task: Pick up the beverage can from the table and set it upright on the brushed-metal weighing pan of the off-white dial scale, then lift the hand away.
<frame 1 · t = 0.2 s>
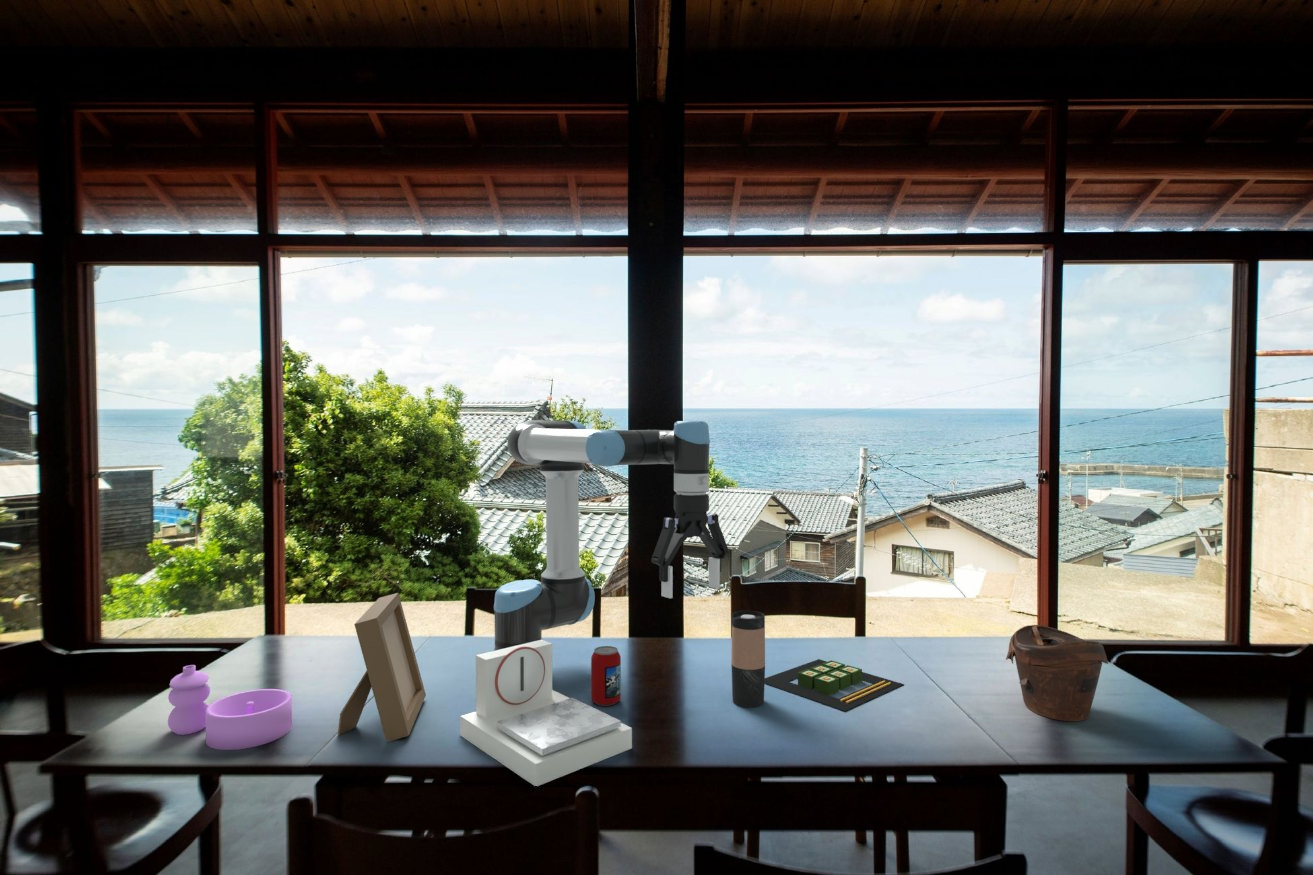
hand: (691, 592, 151), 27 cm above the table, tool pointing down, fingers open, 13 cm apart
travel mug: (748, 702, 161), on the table
weighing pan: (558, 724, 137), point 5 cm above the table, slide at 1.0 cm
beverage can: (606, 702, 161), on the table
container set: (228, 733, 145), on the table
scale: (544, 741, 141), on the table
sushi: (830, 686, 173), on the table
case: (1054, 710, 157), on the table
photo frame: (381, 721, 151), on the table
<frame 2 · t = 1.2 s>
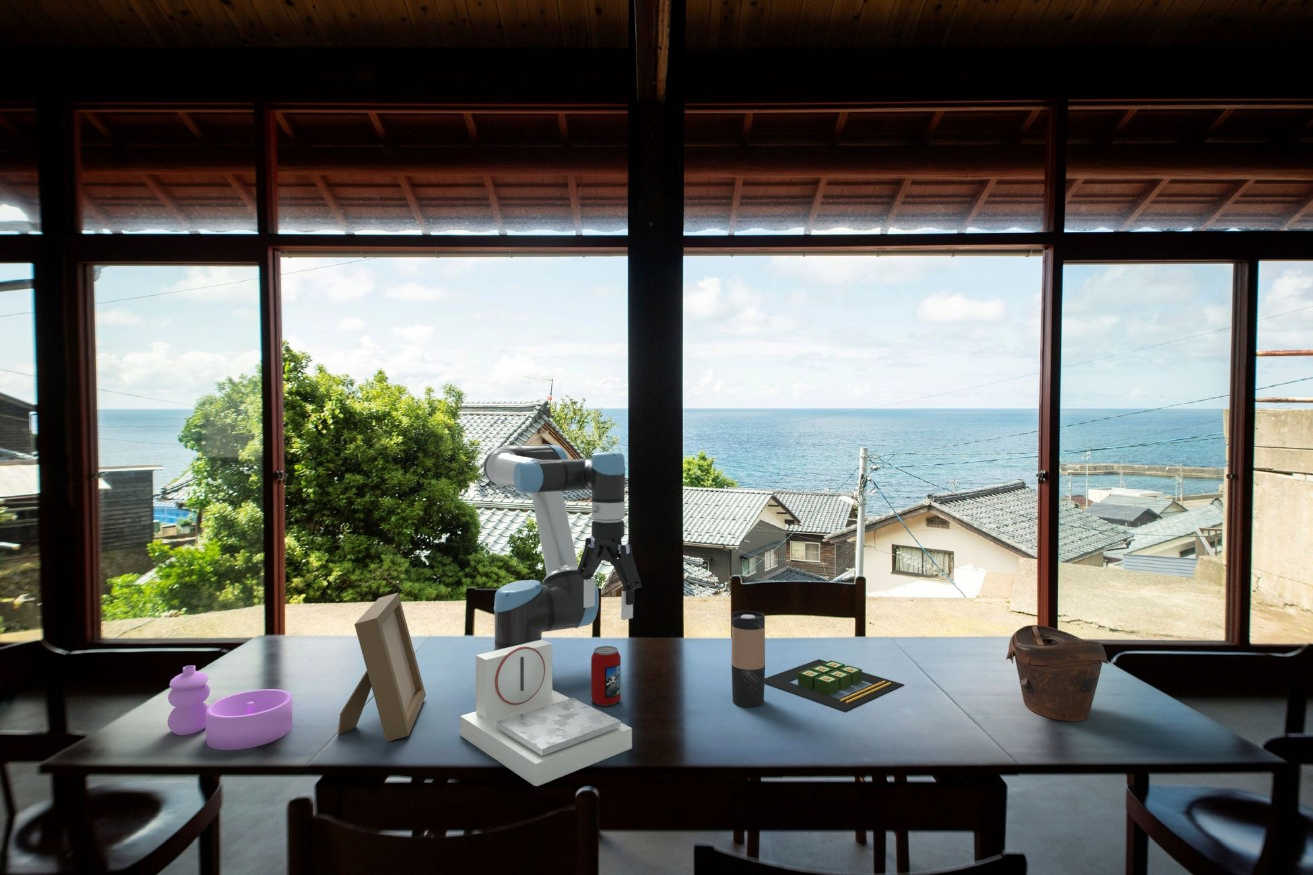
hand: (607, 612, 161), 20 cm above the table, tool pointing down, fingers open, 13 cm apart
nothing on the table moved.
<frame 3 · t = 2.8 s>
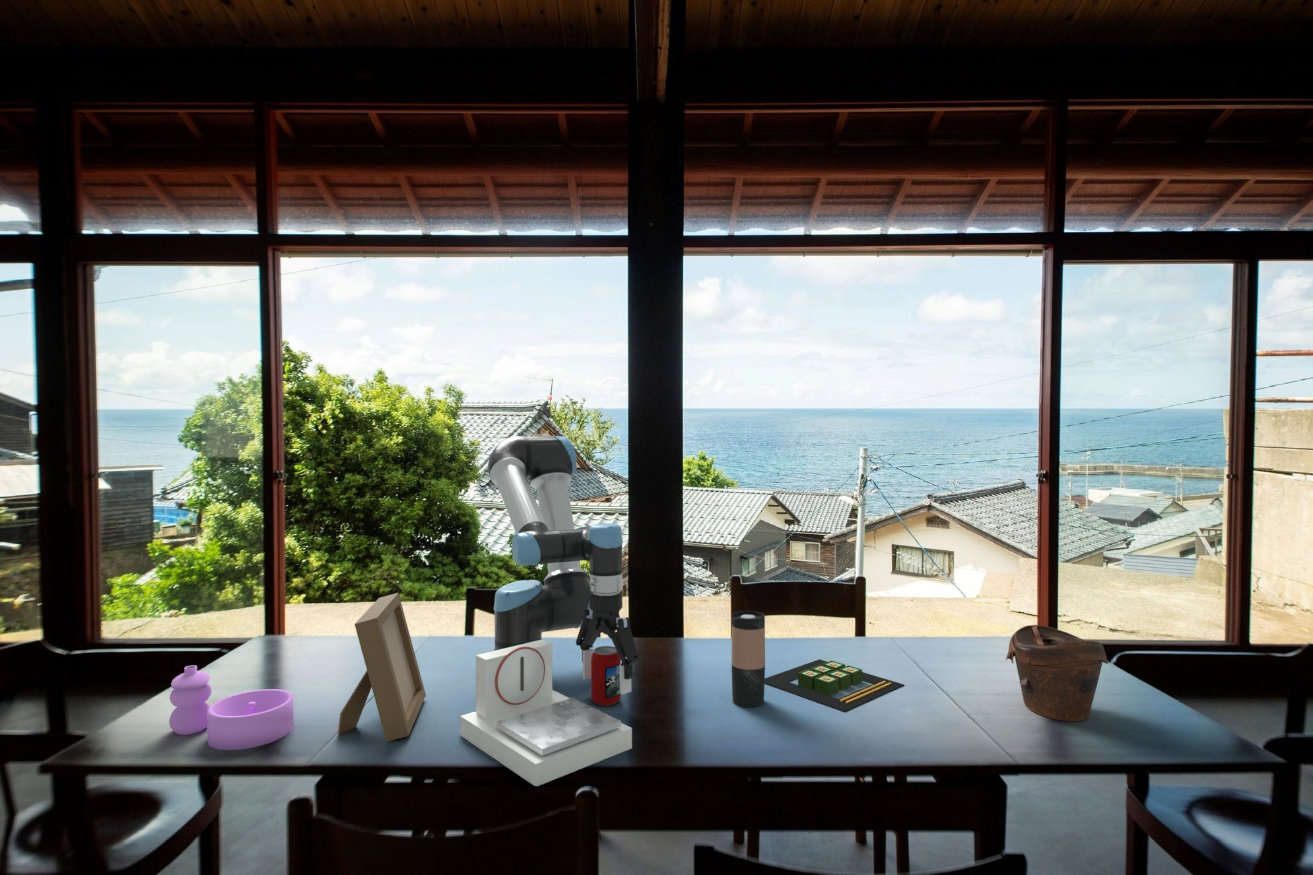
hand: (606, 685, 161), 4 cm above the table, tool pointing down, fingers open, 13 cm apart
nothing on the table moved.
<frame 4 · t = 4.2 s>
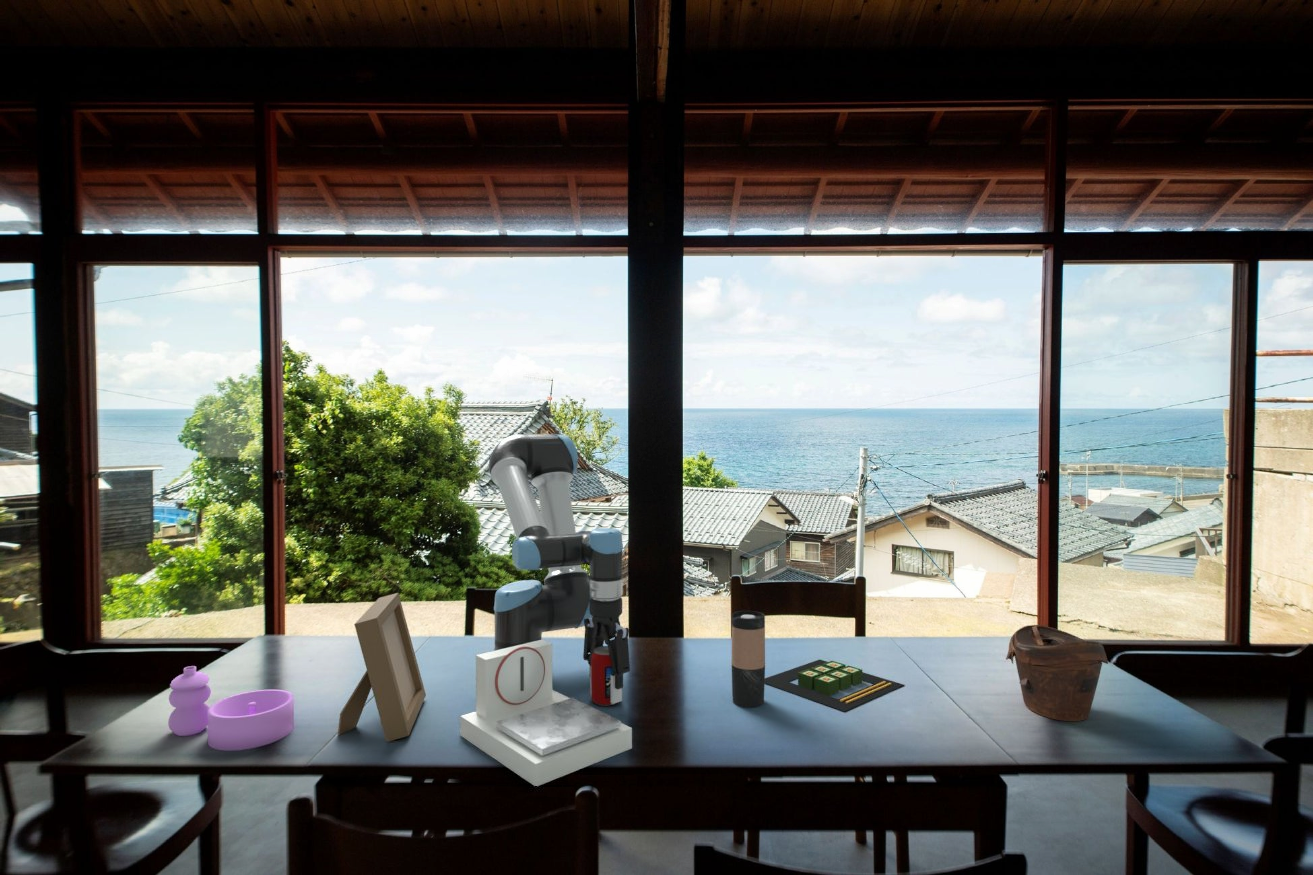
hand: (606, 697, 161), 1 cm above the table, tool pointing down, fingers closed on beverage can, 7 cm apart
beverage can: (606, 702, 161), on the table, touching gripper
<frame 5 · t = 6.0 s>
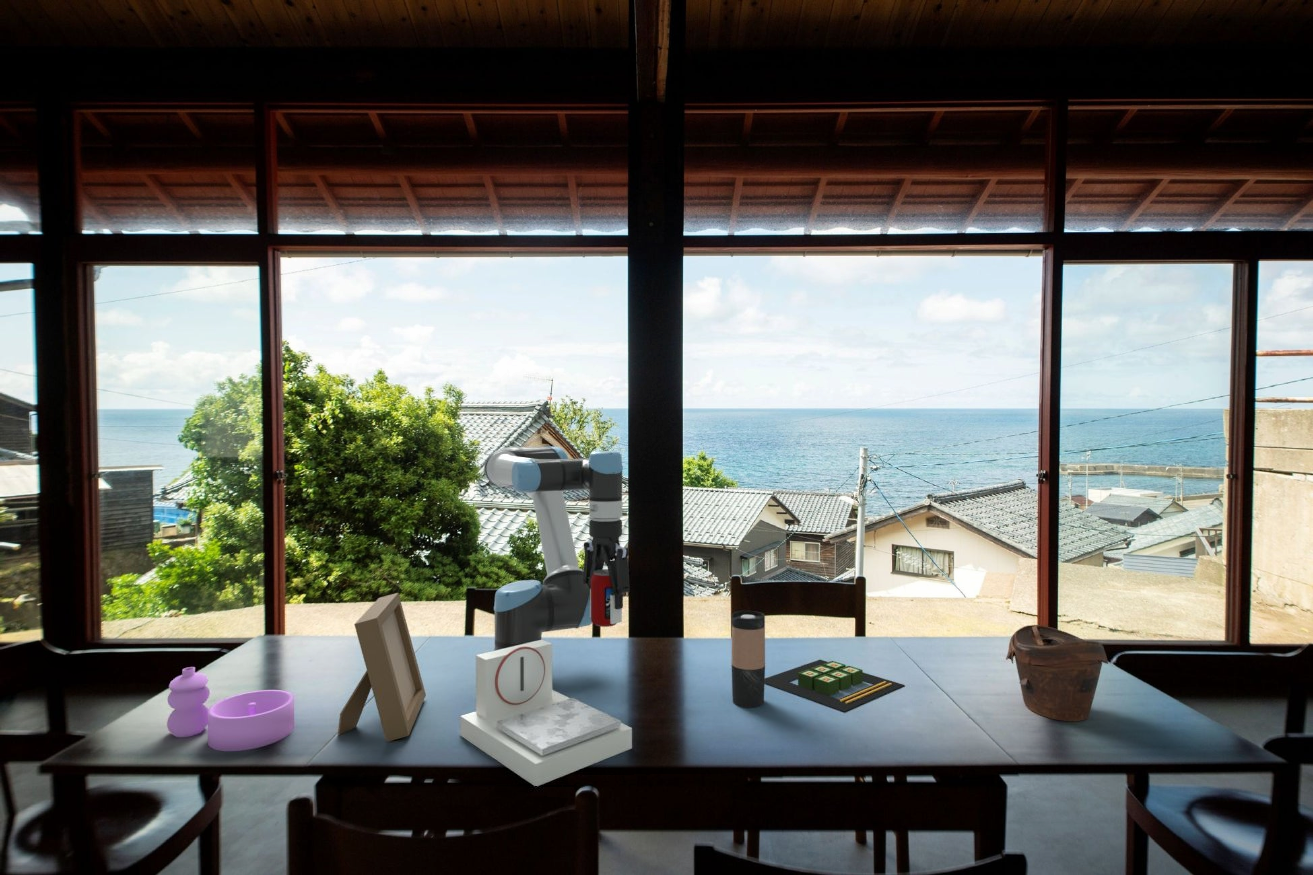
hand: (605, 619, 161), 19 cm above the table, tool pointing down, fingers closed on beverage can, 7 cm apart
beverage can: (605, 624, 161), point 18 cm above the table, touching gripper
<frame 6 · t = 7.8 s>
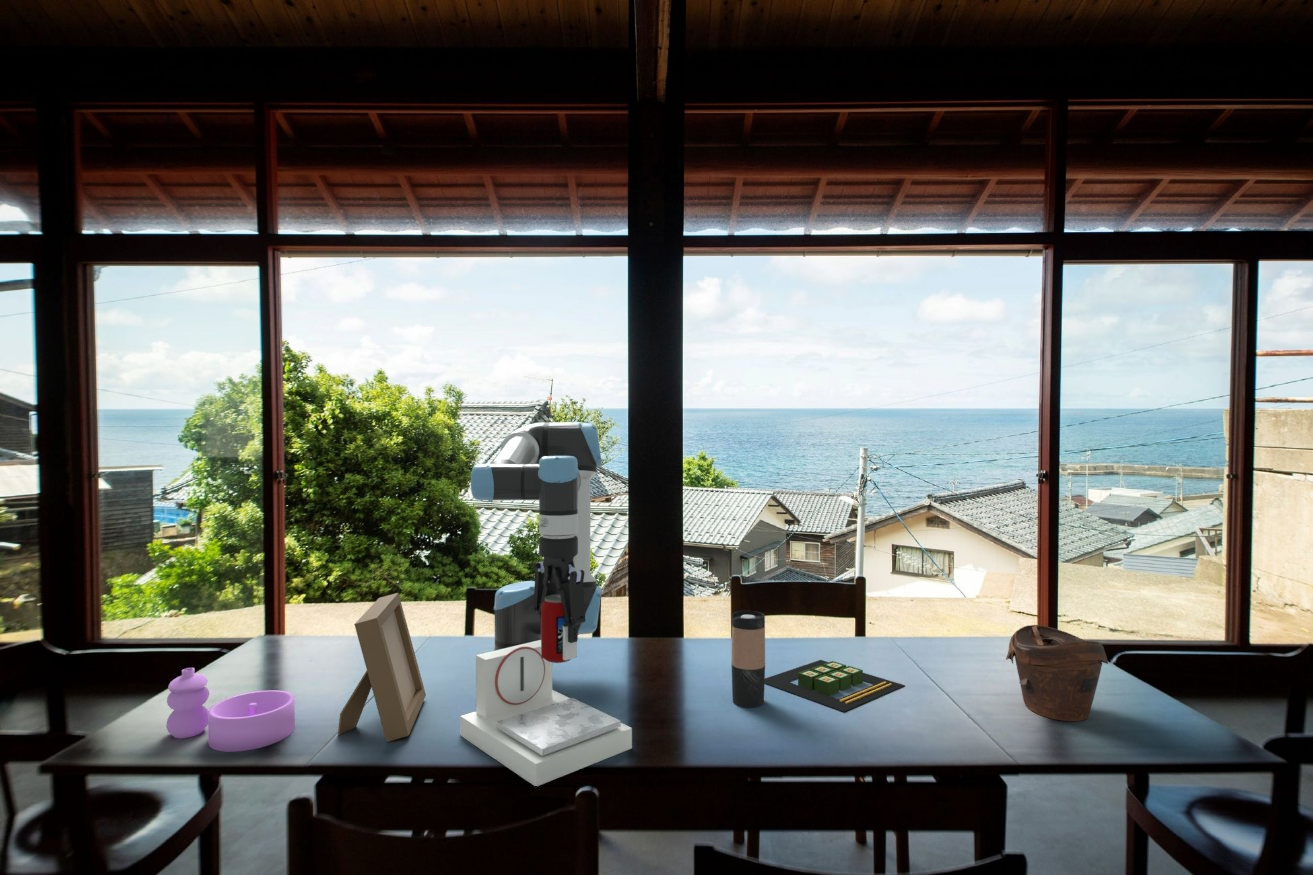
hand: (558, 653, 137), 19 cm above the table, tool pointing down, fingers closed on beverage can, 7 cm apart
beverage can: (558, 659, 137), point 18 cm above the table, touching gripper
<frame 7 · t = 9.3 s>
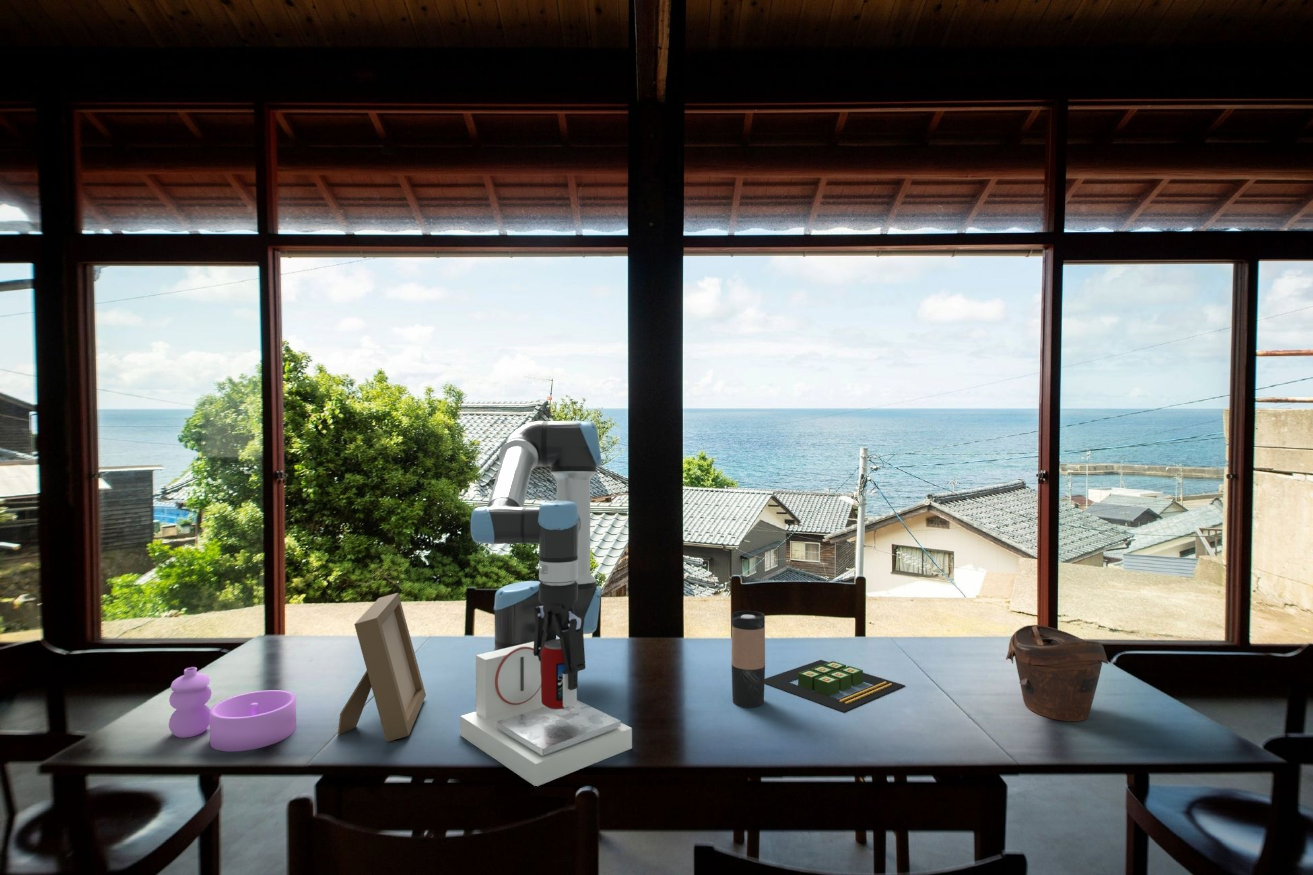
hand: (558, 699, 137), 10 cm above the table, tool pointing down, fingers closed on beverage can, 7 cm apart
beverage can: (558, 705, 137), point 9 cm above the table, touching gripper
when the fingers open (9 cm above the table, at t = 10.2 s): beverage can drops 2 cm, resting on weighing pan.
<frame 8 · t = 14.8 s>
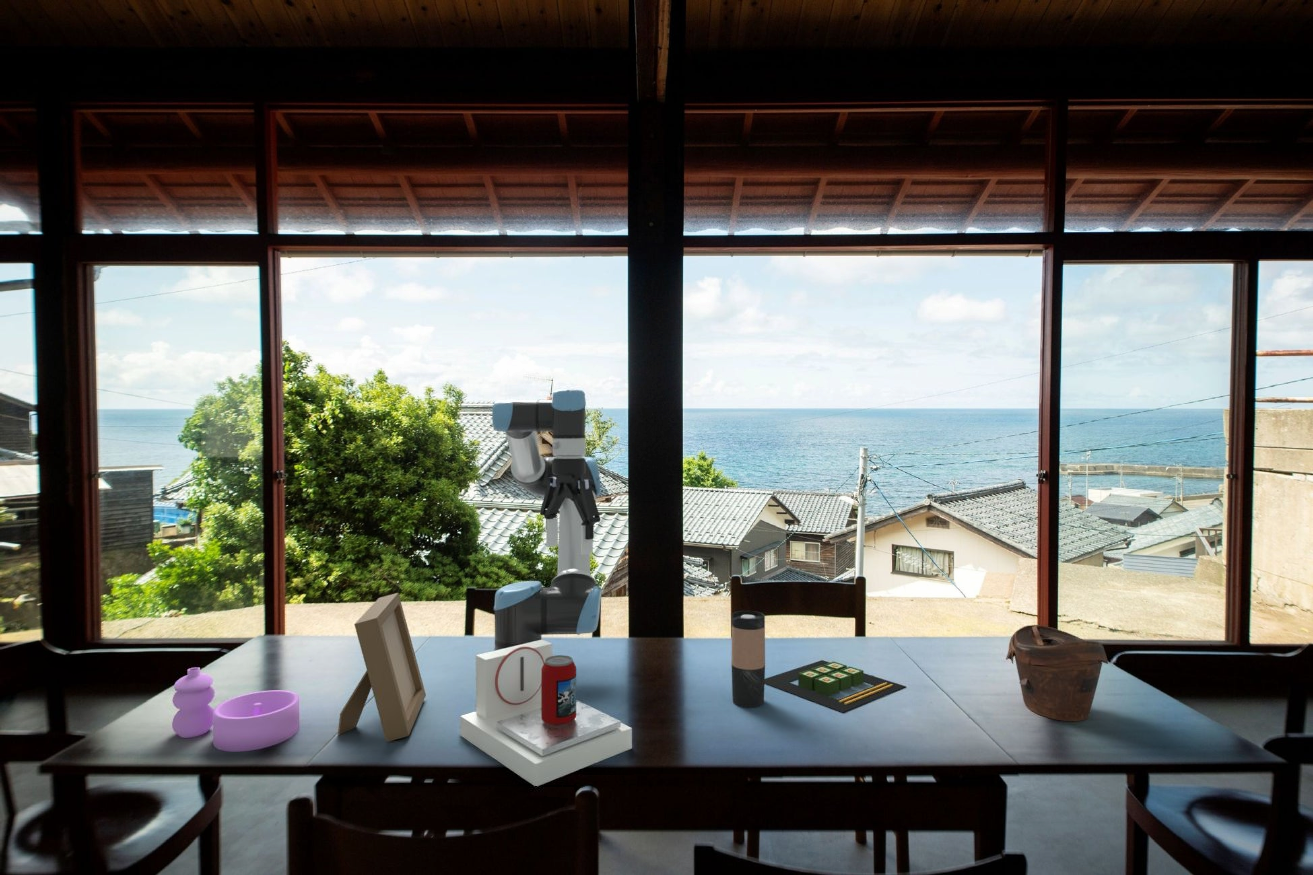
hand: (569, 550, 161), 35 cm above the table, tool pointing down, fingers open, 13 cm apart
weighing pan: (558, 724, 137), point 5 cm above the table, slide at 1.1 cm, touching beverage can
beverage can: (558, 721, 137), point 5 cm above the table, touching weighing pan
at the end: beverage can inside the target area on the scale (0.1 cm from its centre), point 5.4 cm above the scale's base; beverage can tilted 0°; the gripper is holding nothing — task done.
